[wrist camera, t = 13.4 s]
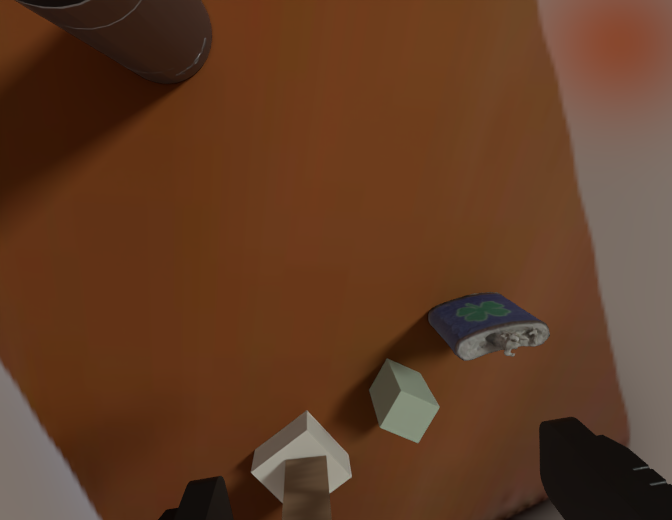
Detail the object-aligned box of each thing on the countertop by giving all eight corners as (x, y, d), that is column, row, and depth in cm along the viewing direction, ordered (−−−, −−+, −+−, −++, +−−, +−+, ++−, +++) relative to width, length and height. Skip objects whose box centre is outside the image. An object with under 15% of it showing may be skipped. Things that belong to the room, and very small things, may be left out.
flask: (428, 328, 45) (466, 373, 34) (424, 304, 44) (461, 343, 34) (505, 310, 45) (566, 350, 35) (502, 286, 44) (563, 320, 34)
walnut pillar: (289, 493, 44) (285, 587, 34) (285, 459, 43) (280, 547, 33) (328, 488, 44) (336, 580, 34) (326, 455, 43) (333, 540, 33)
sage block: (368, 390, 46) (379, 427, 39) (386, 358, 45) (401, 390, 38) (401, 404, 47) (418, 443, 40) (419, 372, 46) (439, 407, 39)
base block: (255, 447, 47) (250, 472, 43) (306, 408, 46) (307, 429, 42) (297, 489, 48) (297, 517, 45) (348, 452, 48) (351, 476, 44)
